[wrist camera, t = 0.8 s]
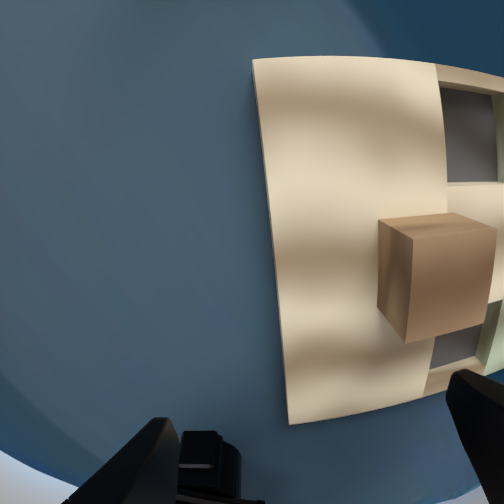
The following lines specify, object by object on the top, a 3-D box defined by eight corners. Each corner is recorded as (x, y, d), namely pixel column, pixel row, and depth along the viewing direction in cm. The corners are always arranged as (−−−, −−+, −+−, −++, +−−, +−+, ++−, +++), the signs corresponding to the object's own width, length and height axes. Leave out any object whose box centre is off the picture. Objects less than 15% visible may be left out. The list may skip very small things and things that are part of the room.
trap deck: (539, 336, 21) (551, 345, 19) (286, 405, 22) (289, 424, 20) (558, 102, 15) (574, 101, 13) (252, 69, 15) (252, 59, 13)
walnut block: (448, 293, 17) (483, 323, 13) (376, 306, 17) (404, 343, 13) (453, 212, 16) (497, 229, 12) (377, 219, 16) (413, 239, 12)
